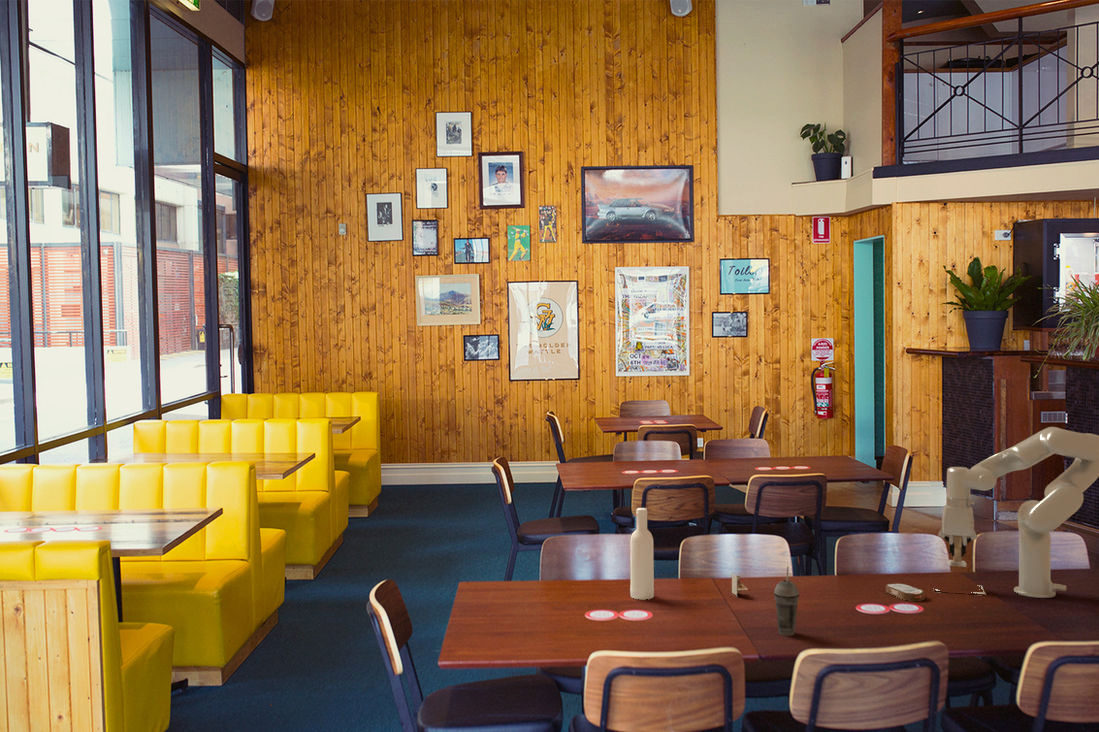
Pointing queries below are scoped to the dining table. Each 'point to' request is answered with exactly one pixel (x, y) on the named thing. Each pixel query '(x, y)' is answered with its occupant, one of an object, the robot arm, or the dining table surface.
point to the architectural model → (735, 582)
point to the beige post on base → (957, 553)
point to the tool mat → (973, 592)
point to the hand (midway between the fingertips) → (957, 555)
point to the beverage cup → (786, 606)
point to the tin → (905, 592)
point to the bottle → (641, 559)
